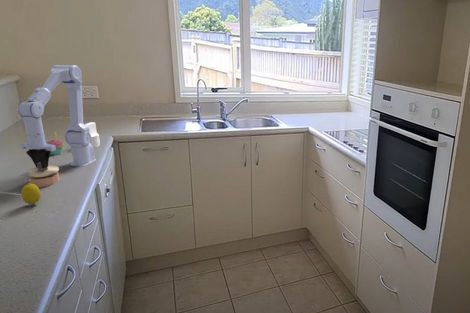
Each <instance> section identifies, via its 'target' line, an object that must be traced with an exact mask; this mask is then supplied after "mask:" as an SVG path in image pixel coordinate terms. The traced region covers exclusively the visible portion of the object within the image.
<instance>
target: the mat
mask: <svg viewBox="0 0 470 313" xmlns="http://www.w3.org/2000/svg"><path fill="white" fill-rule="evenodd" d="M58 168H59V171H60V170H62V169H64V167H58ZM27 172H28V171H26V172H24V173H22V174H20V177H21V176H23V177H28V176H27Z"/></svg>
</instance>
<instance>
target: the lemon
mask: <svg viewBox="0 0 470 313" xmlns="http://www.w3.org/2000/svg"><path fill="white" fill-rule="evenodd" d="M41 195H42V194H41V190H40V187H37V186H36V185H35V184H30V182H28V183H27V184H25V185H24V186H23V187H22V189H21V198H22V200H23V202H24V203H26V204H28V205H32V206H34V205H35V204H36V203H38V202H39V200H40V199H41Z"/></svg>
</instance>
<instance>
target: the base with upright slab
mask: <svg viewBox="0 0 470 313" xmlns="http://www.w3.org/2000/svg"><path fill="white" fill-rule="evenodd" d="M84 125H86V126H87V127H88V128H89V131H90V135H91V141H90V143H91V144H92V146H93V148H94V149H95V148H97V147H100V146H101V141H100V135H99V133H98V132H97V125H96V122H93V121H91V122H87V123H84Z"/></svg>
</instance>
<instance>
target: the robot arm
mask: <svg viewBox="0 0 470 313" xmlns="http://www.w3.org/2000/svg"><path fill="white" fill-rule="evenodd" d="M82 74H83V72H82V70H81V69H80V67H79V66H78V65H76V64H72V65H70V64H69V65H66V64H65V65H63V64H62V65H60V64H55V65H54V66H52V68H50V74H49V76H48V78H47V79H46V80H45V82H44V84H43V85H42V87H37V88H36V87H35V88H34V90H33V92H32V94H31V95H30V96H29V97H27V99H26V101H22V102H21V103H20V104H19V105H18V109H17V114H18V115H19V117H21V121H22V122H23V124H24V128H25V133H26V137H27V141H28V142H23V143H20V149H22V150H24V149H27V150H26V151H25V152H26V153H25V154H26V155H27V156H28V157H29V158H30V160H32V162H33V164H34V167H35V168H37V163H39V162H41V166H42V168H46V167H48V166H49V159H50V156H51V155H50V153H51V151H55V150H56V147H55V145H51V144H48V143H47V140H46V138H45V137H46V136H45V131H44V126H43V121H42V120H43V119H42V116H43V115H44V110H45V106H46V105H47V104H48V102H49V101H50V99H51V98H52V94H51V93H52V92H53V91H54V90H55V89H56V88H57V87H58V85H60V84H63V85H64V86H66V88H68V105H69V107H68V108H69V124H68V125H67V126H66V127H65V134H64V141H65V142H66V144H67V145H68V146H69V147H70V151H71V156H72V161H73V162H70V163H69V164H68V166H75V167H77V166H78V167H86V166H87V165H89V164H91V163H94V162H95V161H97V158H96V157H95V156H96V155H95V147H94V148H93V146H92V144H91V143H90V141H91V135H90V131H89V128H88V127H87V126H86V125H85V123H84V111H83V110H84V107H83V106H84V105H83V86H82V85H83V77H82V76H83V75H82Z"/></svg>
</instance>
